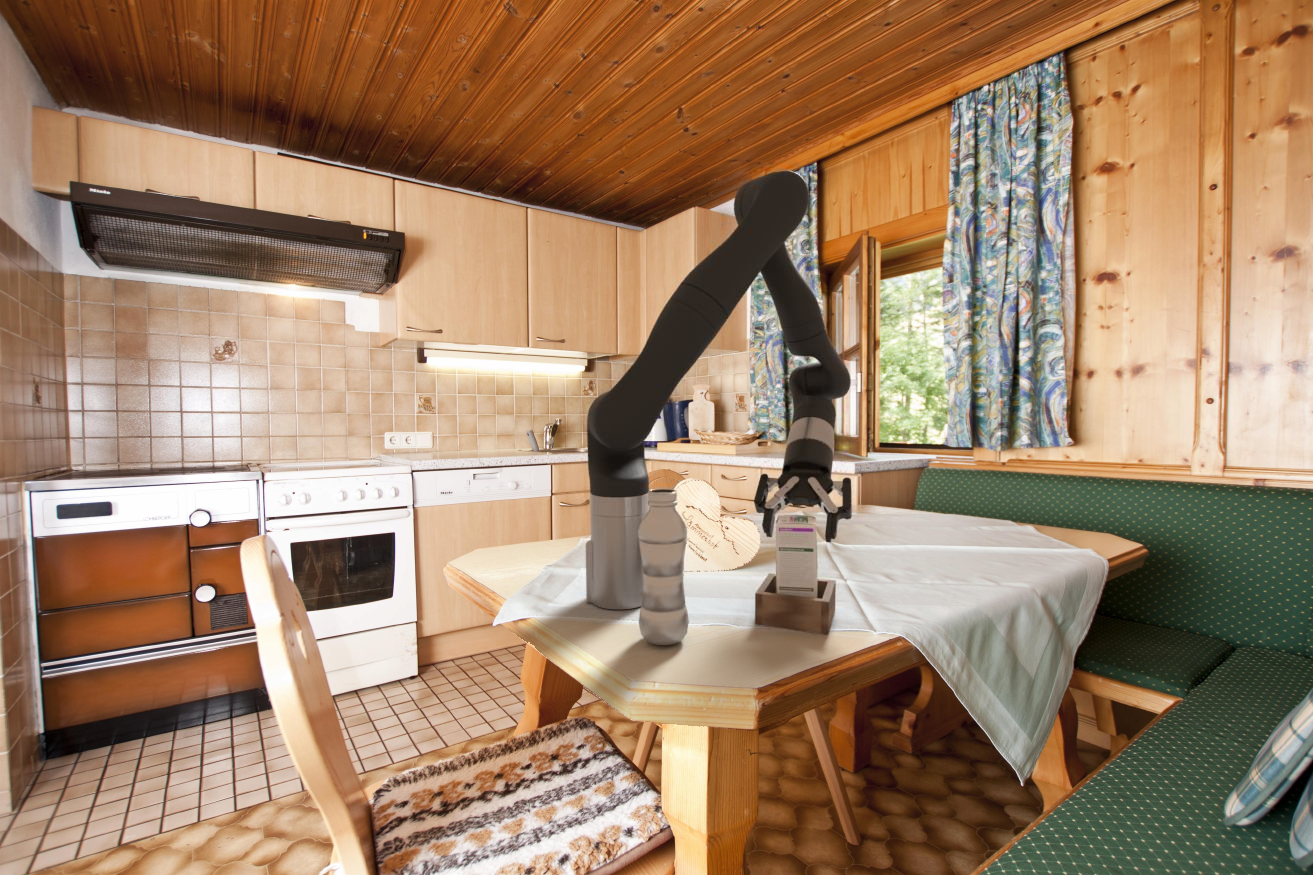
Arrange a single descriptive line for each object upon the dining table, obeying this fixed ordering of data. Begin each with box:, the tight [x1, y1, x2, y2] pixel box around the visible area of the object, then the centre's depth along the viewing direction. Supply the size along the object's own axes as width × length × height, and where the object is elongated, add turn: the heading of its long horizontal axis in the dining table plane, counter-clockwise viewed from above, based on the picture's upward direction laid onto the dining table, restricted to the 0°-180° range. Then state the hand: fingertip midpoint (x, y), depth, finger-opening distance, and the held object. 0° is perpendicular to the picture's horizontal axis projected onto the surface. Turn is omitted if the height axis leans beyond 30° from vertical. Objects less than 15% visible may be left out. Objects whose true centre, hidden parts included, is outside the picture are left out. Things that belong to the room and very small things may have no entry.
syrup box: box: [775, 514, 818, 598], centre depth 84 cm, size 6×6×14 cm
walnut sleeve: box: [754, 573, 837, 636], centre depth 85 cm, size 10×10×4 cm
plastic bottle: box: [638, 488, 690, 646], centre depth 76 cm, size 6×7×20 cm
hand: (797, 536), depth 85 cm, fingers open, 8 cm apart
